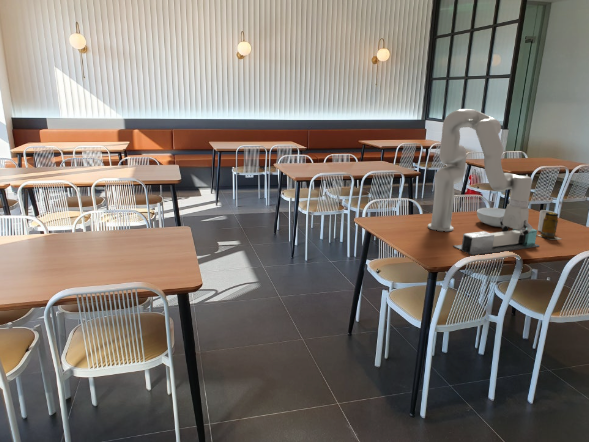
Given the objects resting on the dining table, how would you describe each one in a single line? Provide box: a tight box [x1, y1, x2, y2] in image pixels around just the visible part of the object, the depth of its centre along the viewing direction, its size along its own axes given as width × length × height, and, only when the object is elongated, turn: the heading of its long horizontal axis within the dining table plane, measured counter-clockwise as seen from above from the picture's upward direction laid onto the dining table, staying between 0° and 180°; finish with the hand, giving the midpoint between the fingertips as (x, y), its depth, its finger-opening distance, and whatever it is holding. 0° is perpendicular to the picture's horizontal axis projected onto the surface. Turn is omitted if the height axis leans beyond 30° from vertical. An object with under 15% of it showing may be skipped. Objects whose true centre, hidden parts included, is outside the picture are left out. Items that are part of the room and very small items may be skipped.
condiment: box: [537, 211, 562, 241], centre depth 212 cm, size 7×8×12 cm
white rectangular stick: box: [489, 230, 521, 247], centre depth 198 cm, size 24×4×5 cm, turn 111°
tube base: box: [452, 228, 540, 256], centre depth 197 cm, size 39×12×7 cm, turn 111°
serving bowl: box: [476, 207, 506, 228], centre depth 232 cm, size 21×21×7 cm
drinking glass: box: [537, 209, 556, 232], centre depth 223 cm, size 7×7×10 cm
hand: (512, 239), depth 200 cm, fingers open, 9 cm apart
